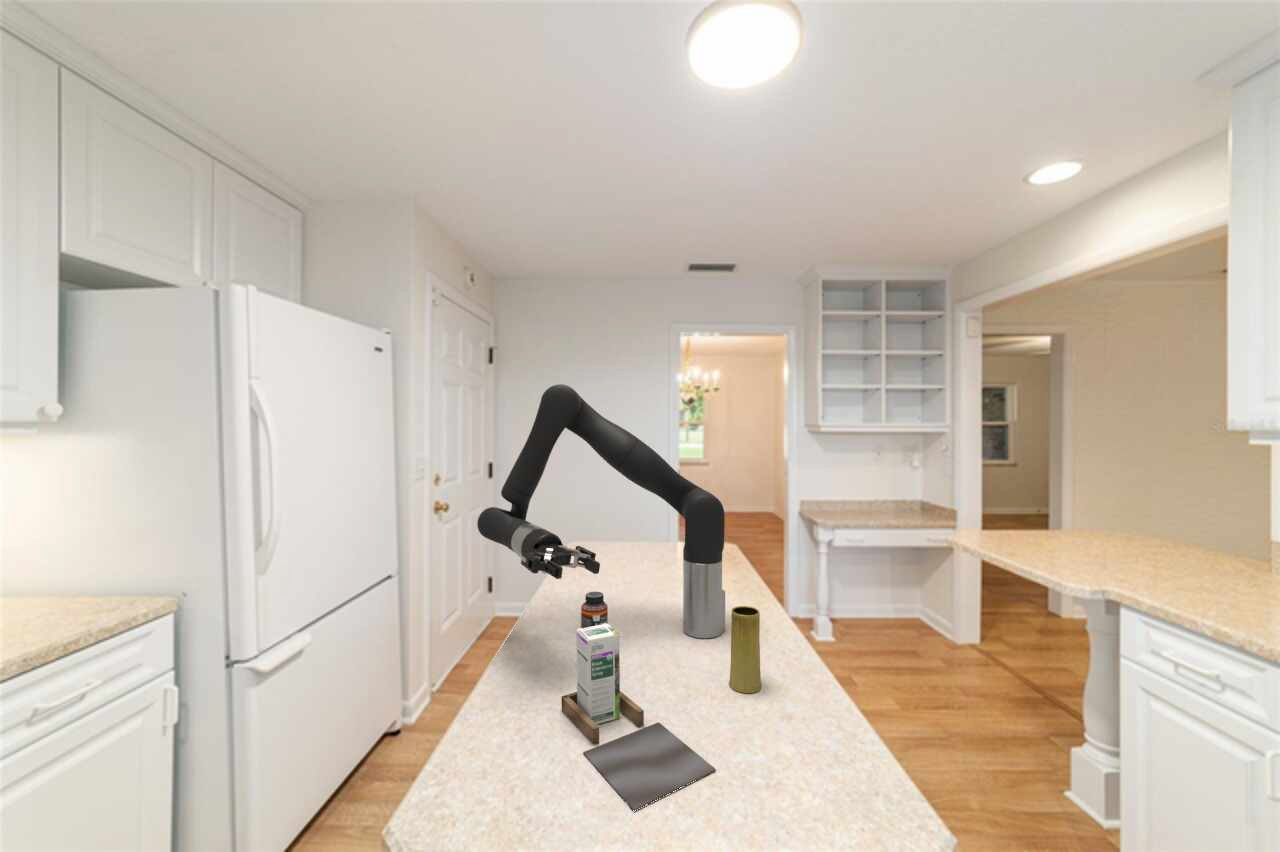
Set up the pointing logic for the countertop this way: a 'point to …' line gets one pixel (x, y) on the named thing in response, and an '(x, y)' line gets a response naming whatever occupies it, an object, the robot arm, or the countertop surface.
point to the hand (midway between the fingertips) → (579, 571)
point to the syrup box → (598, 672)
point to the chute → (638, 756)
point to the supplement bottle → (594, 610)
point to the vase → (745, 650)
